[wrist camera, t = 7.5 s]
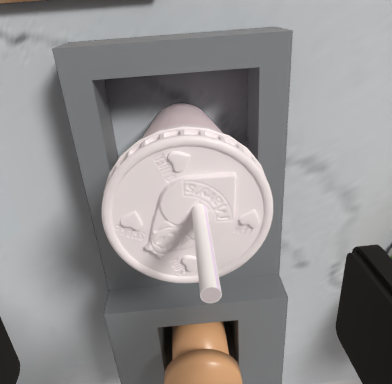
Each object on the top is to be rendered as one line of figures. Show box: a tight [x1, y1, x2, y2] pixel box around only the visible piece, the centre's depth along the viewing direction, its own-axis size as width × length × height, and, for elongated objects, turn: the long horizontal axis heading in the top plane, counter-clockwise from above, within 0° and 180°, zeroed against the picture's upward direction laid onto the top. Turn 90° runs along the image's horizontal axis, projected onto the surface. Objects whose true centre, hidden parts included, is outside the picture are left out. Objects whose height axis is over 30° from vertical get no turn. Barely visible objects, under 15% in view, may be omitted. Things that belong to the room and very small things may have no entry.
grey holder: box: [52, 27, 293, 384], centre depth 22 cm, size 11×23×5 cm, turn 4°
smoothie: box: [102, 103, 273, 303], centre depth 16 cm, size 6×6×14 cm
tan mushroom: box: [164, 321, 243, 384], centre depth 24 cm, size 5×5×7 cm
